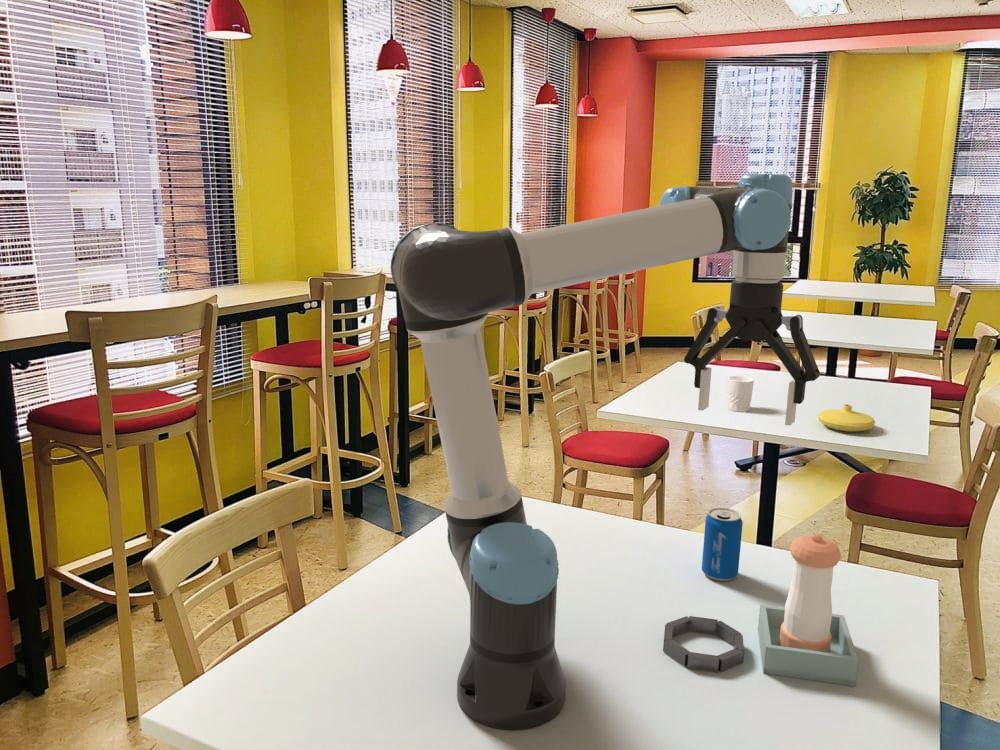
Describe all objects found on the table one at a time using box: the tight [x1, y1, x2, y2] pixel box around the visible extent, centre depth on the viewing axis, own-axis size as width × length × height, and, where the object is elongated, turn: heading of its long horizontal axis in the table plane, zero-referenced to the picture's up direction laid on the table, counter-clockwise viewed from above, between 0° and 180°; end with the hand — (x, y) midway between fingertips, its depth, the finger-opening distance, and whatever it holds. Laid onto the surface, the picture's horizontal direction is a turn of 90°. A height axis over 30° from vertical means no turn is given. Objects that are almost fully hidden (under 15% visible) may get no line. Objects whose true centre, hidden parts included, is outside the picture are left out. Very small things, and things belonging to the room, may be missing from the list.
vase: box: [817, 403, 876, 433], centre depth 241 cm, size 16×16×7 cm
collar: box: [662, 615, 745, 673], centre depth 126 cm, size 12×12×2 cm
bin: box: [757, 604, 859, 687], centre depth 124 cm, size 13×13×4 cm
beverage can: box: [701, 507, 744, 582], centre depth 149 cm, size 6×6×12 cm
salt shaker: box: [779, 533, 842, 653], centre depth 122 cm, size 7×7×19 cm
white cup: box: [726, 375, 755, 413], centre depth 259 cm, size 8×8×10 cm
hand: (745, 415), depth 128 cm, fingers open, 13 cm apart
